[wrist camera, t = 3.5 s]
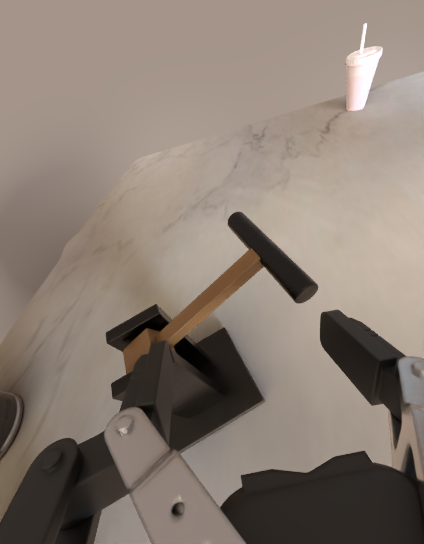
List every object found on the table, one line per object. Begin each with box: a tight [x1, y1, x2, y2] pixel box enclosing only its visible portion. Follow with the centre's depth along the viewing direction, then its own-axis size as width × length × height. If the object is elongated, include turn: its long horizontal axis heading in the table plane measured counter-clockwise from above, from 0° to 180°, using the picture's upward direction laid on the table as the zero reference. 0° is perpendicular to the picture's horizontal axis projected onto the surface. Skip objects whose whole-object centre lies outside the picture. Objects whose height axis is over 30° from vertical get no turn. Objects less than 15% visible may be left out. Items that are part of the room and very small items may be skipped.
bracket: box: [106, 304, 265, 454], centre depth 21 cm, size 11×9×14 cm
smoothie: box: [345, 23, 383, 111], centre depth 47 cm, size 6×6×14 cm
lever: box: [123, 212, 318, 374], centre depth 16 cm, size 13×8×2 cm, turn 114°
